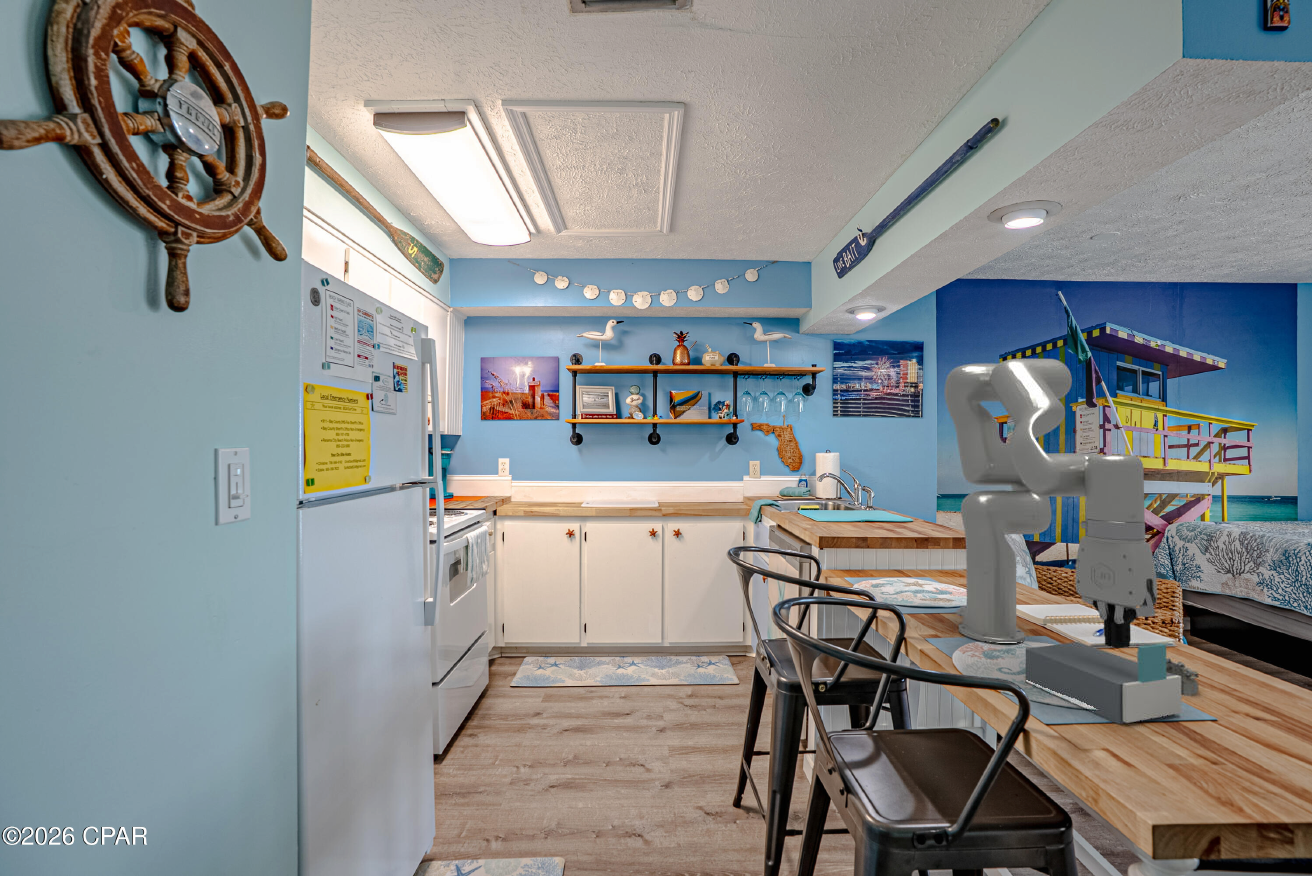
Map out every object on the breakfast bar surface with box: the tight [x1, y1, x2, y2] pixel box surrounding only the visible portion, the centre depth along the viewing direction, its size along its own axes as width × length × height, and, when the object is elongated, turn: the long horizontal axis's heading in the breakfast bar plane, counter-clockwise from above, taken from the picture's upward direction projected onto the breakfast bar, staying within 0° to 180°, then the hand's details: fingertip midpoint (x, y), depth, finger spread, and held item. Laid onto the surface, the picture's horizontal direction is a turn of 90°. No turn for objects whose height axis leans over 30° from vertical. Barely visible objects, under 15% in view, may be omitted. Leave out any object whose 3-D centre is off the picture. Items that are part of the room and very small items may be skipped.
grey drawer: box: [1122, 643, 1182, 724], centre depth 98 cm, size 16×11×11 cm
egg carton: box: [1136, 650, 1200, 697], centre depth 104 cm, size 11×8×4 cm
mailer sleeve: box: [1025, 641, 1175, 725], centre depth 98 cm, size 16×12×6 cm
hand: (1117, 645), depth 95 cm, fingers closed
